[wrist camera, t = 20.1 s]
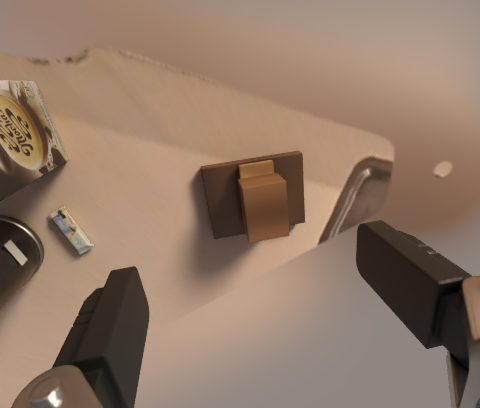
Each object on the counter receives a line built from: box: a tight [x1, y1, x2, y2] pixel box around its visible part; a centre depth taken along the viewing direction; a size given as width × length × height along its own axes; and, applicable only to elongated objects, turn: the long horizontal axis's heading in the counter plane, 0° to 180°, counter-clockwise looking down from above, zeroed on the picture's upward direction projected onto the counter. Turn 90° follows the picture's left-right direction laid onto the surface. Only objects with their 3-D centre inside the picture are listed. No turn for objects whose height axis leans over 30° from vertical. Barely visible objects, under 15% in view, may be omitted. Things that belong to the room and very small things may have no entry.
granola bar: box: [48, 205, 95, 254], centre depth 37 cm, size 7×2×1 cm, turn 23°
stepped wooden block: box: [238, 160, 289, 243], centre depth 36 cm, size 10×5×5 cm, turn 7°
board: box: [201, 151, 305, 239], centre depth 39 cm, size 13×10×2 cm
